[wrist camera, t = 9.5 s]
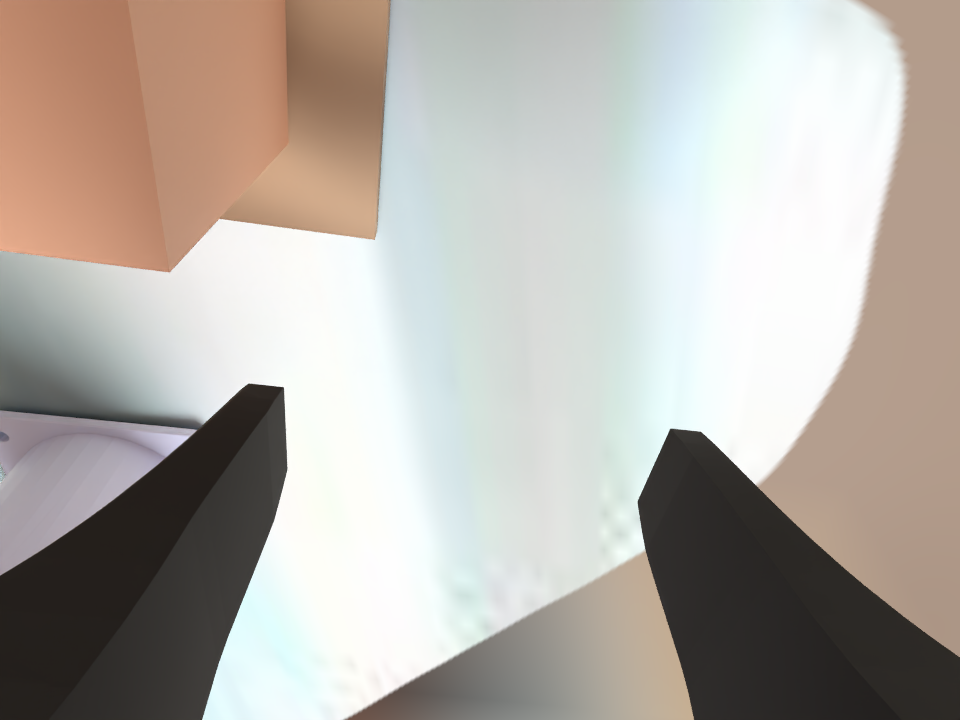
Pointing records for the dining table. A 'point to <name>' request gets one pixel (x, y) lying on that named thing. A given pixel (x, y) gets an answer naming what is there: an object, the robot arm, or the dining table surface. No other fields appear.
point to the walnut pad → (327, 123)
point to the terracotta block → (134, 122)
